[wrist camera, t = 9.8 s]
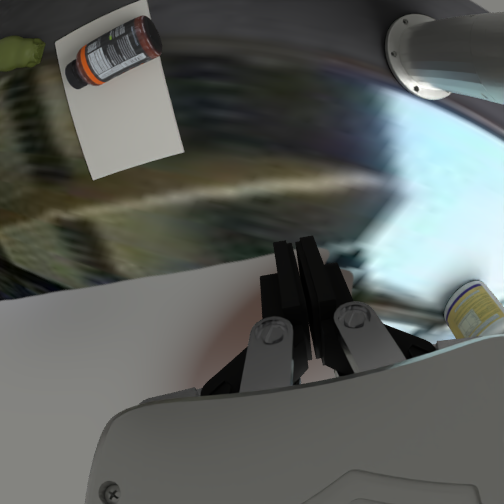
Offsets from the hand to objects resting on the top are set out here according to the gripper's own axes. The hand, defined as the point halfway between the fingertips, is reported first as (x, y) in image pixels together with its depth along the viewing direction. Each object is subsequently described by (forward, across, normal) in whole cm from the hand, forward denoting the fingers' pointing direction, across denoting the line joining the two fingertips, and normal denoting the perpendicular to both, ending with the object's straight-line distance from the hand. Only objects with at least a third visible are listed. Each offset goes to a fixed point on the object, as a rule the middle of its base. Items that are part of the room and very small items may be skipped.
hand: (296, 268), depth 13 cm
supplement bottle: (+24, +9, -16) cm, 30 cm away
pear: (+27, +30, -25) cm, 48 cm away
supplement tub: (+27, -38, +37) cm, 60 cm away
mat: (+27, +17, -12) cm, 34 cm away
